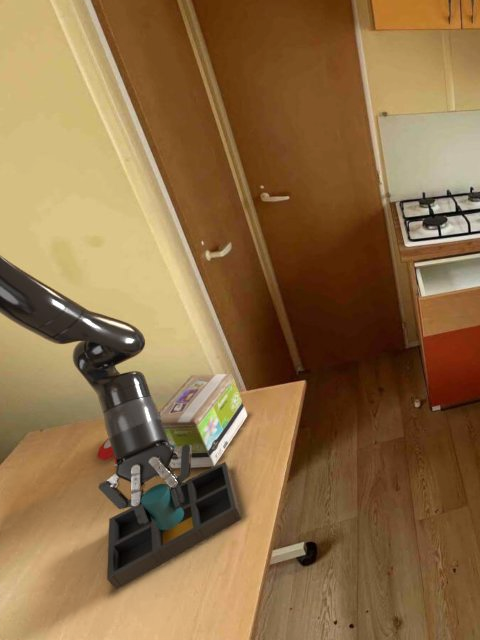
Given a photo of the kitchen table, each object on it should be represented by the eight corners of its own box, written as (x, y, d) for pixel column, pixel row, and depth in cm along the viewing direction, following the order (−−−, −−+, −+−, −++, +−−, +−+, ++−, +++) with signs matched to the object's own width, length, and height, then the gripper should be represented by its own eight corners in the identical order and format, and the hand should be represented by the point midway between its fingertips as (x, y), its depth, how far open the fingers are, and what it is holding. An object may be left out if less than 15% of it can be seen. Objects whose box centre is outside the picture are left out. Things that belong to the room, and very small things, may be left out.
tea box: (216, 467, 96) (193, 422, 89) (171, 469, 95) (144, 424, 89) (249, 415, 109) (232, 372, 102) (209, 416, 109) (189, 373, 102)
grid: (115, 589, 75) (106, 579, 73) (117, 529, 84) (109, 518, 82) (241, 518, 86) (236, 508, 84) (230, 472, 95) (225, 461, 93)
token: (159, 535, 78) (141, 509, 74) (158, 518, 80) (140, 492, 77) (185, 521, 80) (168, 495, 76) (183, 505, 83) (167, 479, 79)
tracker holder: (84, 455, 97) (125, 415, 105) (100, 464, 100) (139, 425, 107) (111, 463, 92) (152, 421, 100) (128, 472, 95) (166, 431, 102)
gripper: (76, 448, 73) (106, 546, 70) (177, 407, 81) (206, 493, 78) (92, 447, 79) (120, 538, 76) (184, 410, 87) (212, 490, 84)
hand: (164, 515), depth 77 cm, fingers closed on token, 4 cm apart
